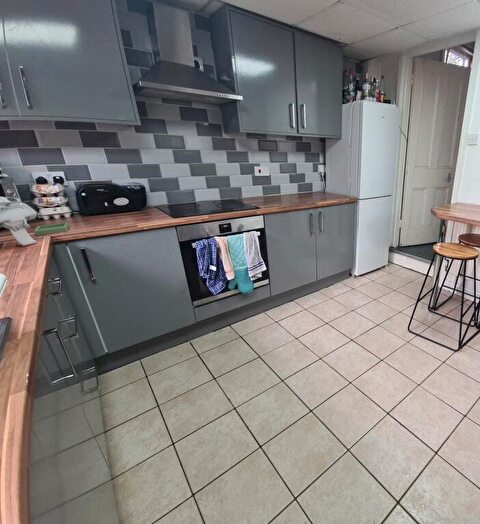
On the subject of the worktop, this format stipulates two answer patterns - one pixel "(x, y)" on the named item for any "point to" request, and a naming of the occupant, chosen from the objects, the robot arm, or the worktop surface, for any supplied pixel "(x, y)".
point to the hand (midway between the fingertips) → (22, 229)
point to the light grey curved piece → (20, 232)
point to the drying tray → (51, 228)
